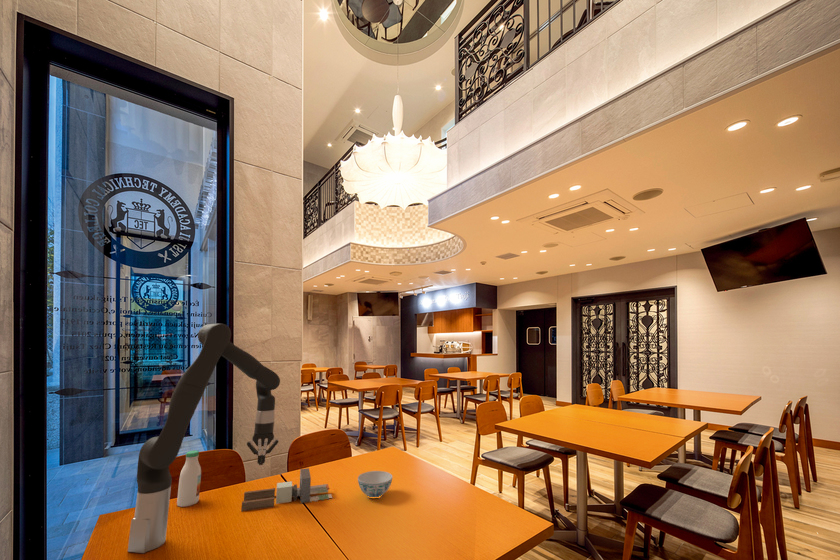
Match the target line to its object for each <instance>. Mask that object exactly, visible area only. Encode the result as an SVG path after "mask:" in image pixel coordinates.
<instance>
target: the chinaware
mask: <svg viewBox="0 0 840 560" xmlns="http://www.w3.org/2000/svg"><path fill="white" fill-rule="evenodd" d="M392 480H393V475H392V474H391V472H388V471H382V470H372V471H371V470H370V471H367V472H363V473H360V474H359V475H358V476H357V484H358V486H359V488H360V490H361V492H362V493H363V494H365V495H366V497H367V496H369V497H379V496H381V495H383V496H384V494H385V493H387V491H388V490H389V489H390V487H391V485H392Z"/></svg>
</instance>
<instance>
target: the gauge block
mask: <svg viewBox="0 0 840 560" xmlns="http://www.w3.org/2000/svg"><path fill="white" fill-rule="evenodd" d="M275 496H276V497H275V504H277V505H279V504H284V503H290V502H292V498H293V497H294V485H293V481H292V480H291V481H284V482H277V483H276V492H275Z"/></svg>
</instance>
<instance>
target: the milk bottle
mask: <svg viewBox="0 0 840 560" xmlns="http://www.w3.org/2000/svg"><path fill="white" fill-rule="evenodd" d="M199 454H200V451H199V450H196V449H195V450H189V451H187V452H186V453H185V463H184V465H183V467H182V469H181V471H180V475H179V480H178V487H177V488H178V490H177V500H176V505H177V507H180V508H181V507H182V508H184V507H190V506H194V505H195V504H197V503H199V500H200V491H201V489H200V488H201V480H202V479H201V478H202V467H201V465H200V463H199V459H198V458H199Z"/></svg>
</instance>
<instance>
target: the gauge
mask: <svg viewBox="0 0 840 560" xmlns="http://www.w3.org/2000/svg"><path fill="white" fill-rule="evenodd" d="M299 472H300V474H299V488H300V487H301V493H300V496H299V497H300V498H299V501H300V502H301V503H300V502H299V503H300V504H306V502H307V503H312V501H314V502H319V501H318V500H321V501H325V500H324V499H328V500H330V499H329V498H332V499H333V496H332V493H329V494H326V493H324V494H320V495H319V494H318V495H314V496H311V494H310V486H312V484H311V480H312V477H311V473H310V468H309V467H308V468H306V467H305V468H300V471H299ZM275 496H276V488H274V487H273V488H265V489H264V488H263V489H257V490H250V491H244V493H243V501H241V511H240V512H247V511H253V510H254V511H255V510H261V509H266V508H274V507H275V500H276V497H275Z"/></svg>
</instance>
